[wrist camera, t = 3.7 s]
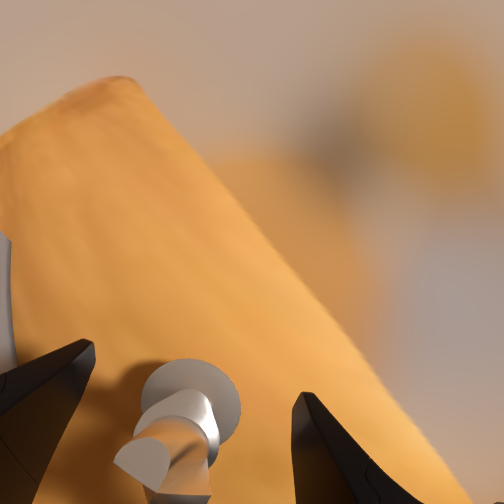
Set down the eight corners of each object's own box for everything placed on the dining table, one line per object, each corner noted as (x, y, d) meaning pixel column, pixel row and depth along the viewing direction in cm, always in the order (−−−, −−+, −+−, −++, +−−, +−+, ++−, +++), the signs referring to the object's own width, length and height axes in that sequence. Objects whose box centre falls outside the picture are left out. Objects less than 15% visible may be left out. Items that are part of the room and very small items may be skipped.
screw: (162, 349, 15) (245, 376, 15) (138, 425, 12) (222, 453, 13) (50, 242, 3) (391, 353, 3) (-13, 514, 1) (292, 615, 1)
